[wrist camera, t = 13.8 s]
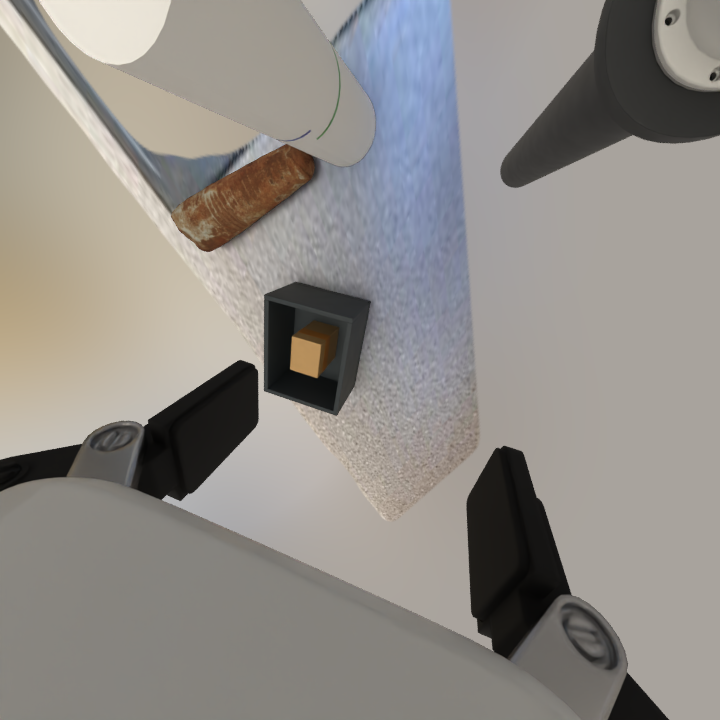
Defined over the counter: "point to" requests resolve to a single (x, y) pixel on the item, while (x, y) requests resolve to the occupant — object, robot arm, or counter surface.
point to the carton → (313, 348)
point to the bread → (242, 197)
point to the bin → (290, 315)
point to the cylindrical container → (233, 65)
